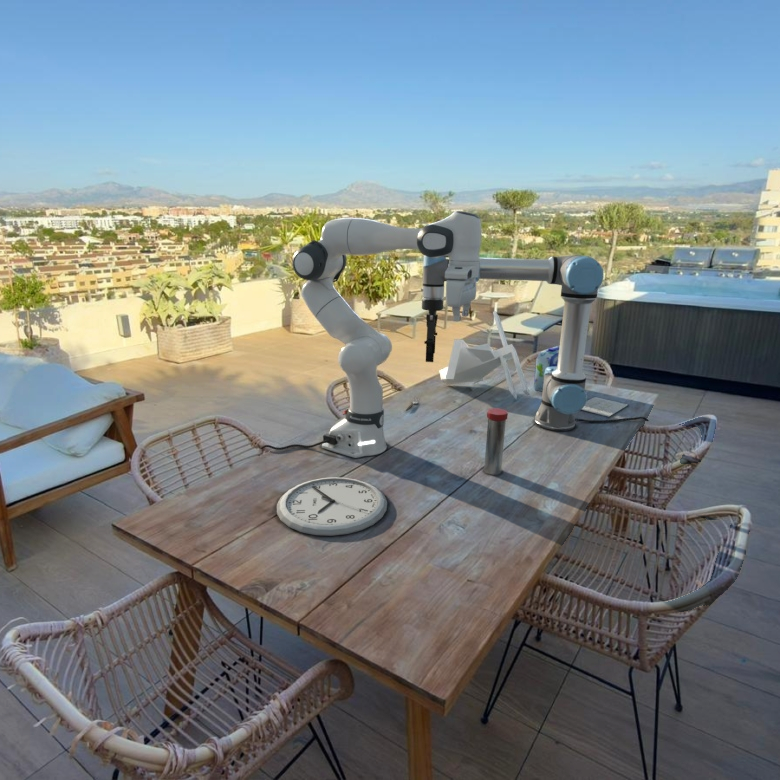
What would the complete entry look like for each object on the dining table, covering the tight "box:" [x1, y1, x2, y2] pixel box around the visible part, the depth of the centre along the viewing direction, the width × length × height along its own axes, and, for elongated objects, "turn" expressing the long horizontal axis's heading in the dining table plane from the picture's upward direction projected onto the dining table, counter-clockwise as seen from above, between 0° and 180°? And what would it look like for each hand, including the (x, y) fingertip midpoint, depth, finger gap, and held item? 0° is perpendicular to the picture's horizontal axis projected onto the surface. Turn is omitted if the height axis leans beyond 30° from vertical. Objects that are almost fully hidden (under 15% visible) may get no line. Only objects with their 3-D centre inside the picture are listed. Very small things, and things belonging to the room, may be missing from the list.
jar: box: [483, 418, 507, 476], centre depth 162 cm, size 5×5×20 cm
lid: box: [486, 407, 509, 421], centre depth 159 cm, size 6×6×2 cm
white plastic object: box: [438, 310, 531, 400], centre depth 245 cm, size 37×45×31 cm
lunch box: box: [533, 345, 560, 393], centre depth 245 cm, size 26×11×21 cm, turn 135°
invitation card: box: [580, 396, 629, 418], centre depth 226 cm, size 21×1×15 cm
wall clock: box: [276, 476, 388, 537], centre depth 142 cm, size 30×2×30 cm
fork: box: [405, 396, 421, 411], centre depth 222 cm, size 3×16×2 cm, turn 160°
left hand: (461, 318), depth 154 cm, fingers open, 8 cm apart
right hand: (430, 357), depth 190 cm, fingers open, 13 cm apart
